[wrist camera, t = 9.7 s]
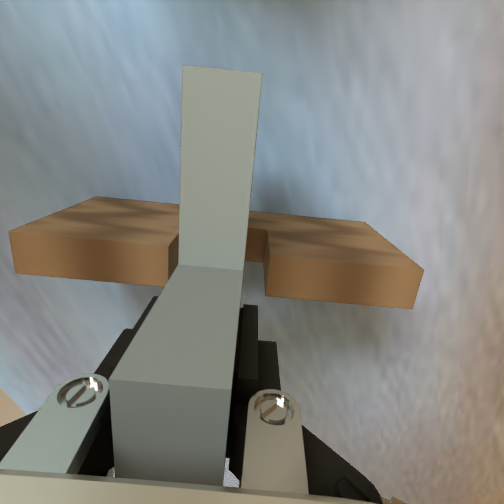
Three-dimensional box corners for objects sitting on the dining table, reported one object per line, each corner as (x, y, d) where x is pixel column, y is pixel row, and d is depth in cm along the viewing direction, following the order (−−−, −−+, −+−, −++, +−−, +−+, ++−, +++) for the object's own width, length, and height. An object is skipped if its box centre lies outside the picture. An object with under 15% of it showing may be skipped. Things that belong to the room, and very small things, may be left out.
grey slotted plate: (218, 99, 19) (82, -31, 4) (259, 103, 19) (268, -10, 4) (204, 353, 25) (128, 673, 10) (235, 355, 25) (204, 679, 10)
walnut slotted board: (98, 225, 27) (15, 273, 18) (96, 196, 26) (8, 231, 17) (359, 249, 28) (412, 309, 18) (365, 222, 27) (424, 269, 17)
